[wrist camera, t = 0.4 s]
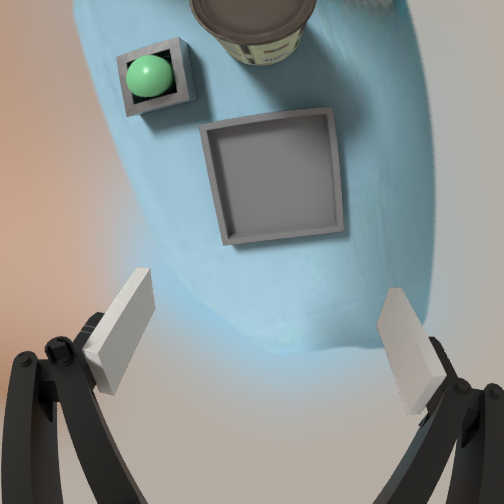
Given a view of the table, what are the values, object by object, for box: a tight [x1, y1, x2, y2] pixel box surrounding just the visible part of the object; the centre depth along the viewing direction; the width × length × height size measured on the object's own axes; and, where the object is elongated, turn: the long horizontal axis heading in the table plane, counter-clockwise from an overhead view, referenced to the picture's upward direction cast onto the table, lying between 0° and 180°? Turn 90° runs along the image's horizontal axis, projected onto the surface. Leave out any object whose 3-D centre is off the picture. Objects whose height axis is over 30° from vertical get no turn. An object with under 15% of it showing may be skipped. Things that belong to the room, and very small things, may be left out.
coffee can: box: [189, 0, 316, 66], centre depth 24 cm, size 10×10×14 cm
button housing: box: [116, 37, 197, 117], centre depth 32 cm, size 8×8×4 cm
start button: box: [126, 55, 176, 97], centre depth 31 cm, size 5×5×4 cm
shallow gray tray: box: [199, 107, 344, 246], centre depth 38 cm, size 16×16×3 cm
